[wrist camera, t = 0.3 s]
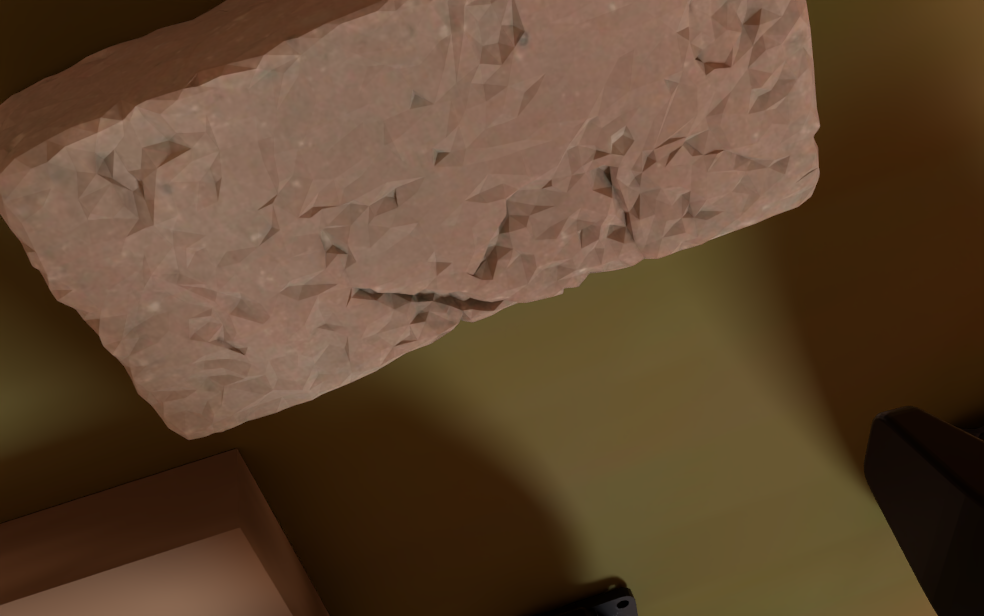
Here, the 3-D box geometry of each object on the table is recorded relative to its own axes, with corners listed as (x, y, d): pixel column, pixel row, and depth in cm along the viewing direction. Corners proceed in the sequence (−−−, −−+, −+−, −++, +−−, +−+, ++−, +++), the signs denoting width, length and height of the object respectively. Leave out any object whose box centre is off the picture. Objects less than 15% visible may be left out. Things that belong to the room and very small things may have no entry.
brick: (184, 355, 25) (181, 482, 21) (-21, 89, 20) (-71, 197, 16) (747, 111, 25) (841, 197, 21) (692, -222, 20) (805, -185, 16)
